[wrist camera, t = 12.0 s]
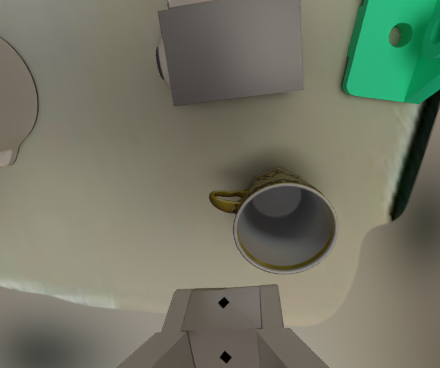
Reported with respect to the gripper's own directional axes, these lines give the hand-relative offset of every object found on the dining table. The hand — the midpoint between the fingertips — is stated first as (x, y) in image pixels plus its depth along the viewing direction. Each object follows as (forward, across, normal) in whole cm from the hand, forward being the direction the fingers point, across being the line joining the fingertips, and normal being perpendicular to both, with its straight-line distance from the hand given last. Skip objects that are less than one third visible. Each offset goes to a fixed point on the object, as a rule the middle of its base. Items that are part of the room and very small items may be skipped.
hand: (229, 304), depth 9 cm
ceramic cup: (+29, -2, +8) cm, 30 cm away
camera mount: (+30, -16, -8) cm, 34 cm away
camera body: (+29, 0, -8) cm, 30 cm away
